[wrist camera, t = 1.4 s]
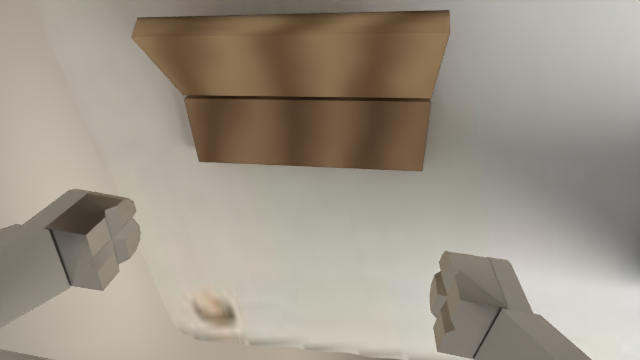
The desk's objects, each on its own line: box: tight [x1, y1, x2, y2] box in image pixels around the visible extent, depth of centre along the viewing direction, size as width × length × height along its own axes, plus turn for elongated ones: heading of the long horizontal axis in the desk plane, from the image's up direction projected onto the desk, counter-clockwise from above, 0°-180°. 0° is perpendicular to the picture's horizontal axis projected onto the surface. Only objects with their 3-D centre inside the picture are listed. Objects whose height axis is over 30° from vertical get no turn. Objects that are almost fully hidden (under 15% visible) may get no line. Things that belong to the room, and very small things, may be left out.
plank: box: [131, 10, 450, 98], centre depth 26 cm, size 20×7×2 cm
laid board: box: [184, 95, 431, 171], centre depth 31 cm, size 20×6×2 cm, turn 92°
